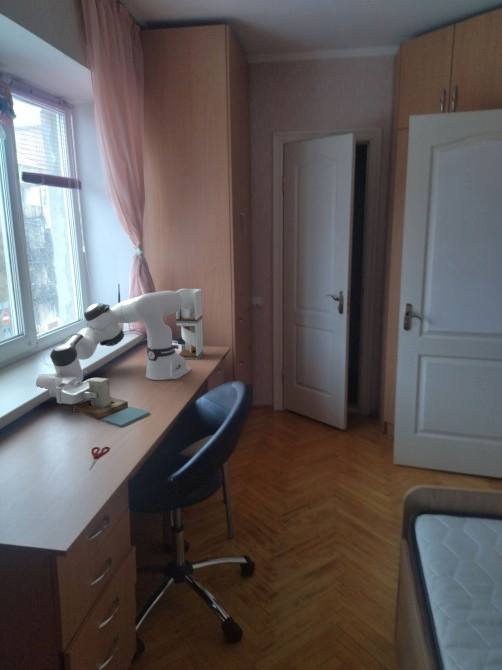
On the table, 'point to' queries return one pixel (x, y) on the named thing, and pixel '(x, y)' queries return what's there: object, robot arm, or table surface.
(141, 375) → the table surface
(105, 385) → the skincare box
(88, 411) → the pocket holder
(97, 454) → the scissors
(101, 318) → the robot arm
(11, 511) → the table surface
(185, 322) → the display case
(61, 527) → the table surface
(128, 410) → the teal mat
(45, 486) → the table surface
